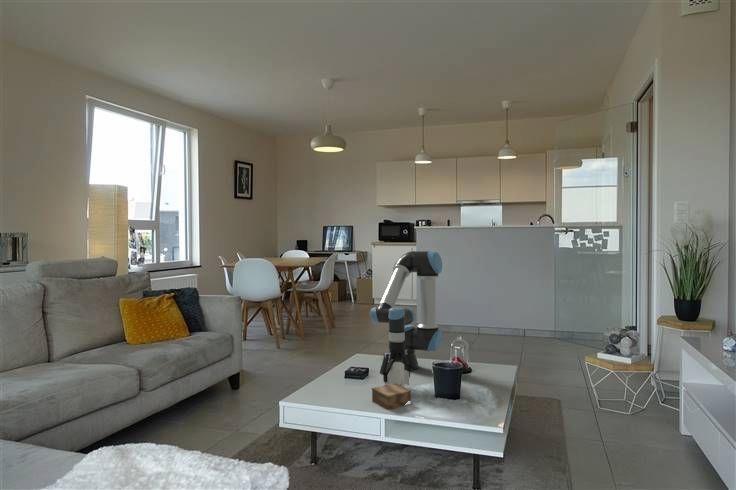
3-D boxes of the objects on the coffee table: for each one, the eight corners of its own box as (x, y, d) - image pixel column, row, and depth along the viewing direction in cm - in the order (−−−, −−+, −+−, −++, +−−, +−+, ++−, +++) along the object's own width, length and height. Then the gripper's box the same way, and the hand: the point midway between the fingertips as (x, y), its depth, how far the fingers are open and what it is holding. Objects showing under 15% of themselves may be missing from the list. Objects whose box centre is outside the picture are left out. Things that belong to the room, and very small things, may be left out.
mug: (409, 393, 224) (409, 367, 224) (392, 394, 222) (392, 368, 222) (401, 385, 235) (401, 361, 235) (384, 387, 233) (384, 362, 233)
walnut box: (394, 396, 219) (394, 383, 219) (411, 404, 209) (411, 390, 209) (371, 401, 212) (371, 388, 212) (388, 410, 202) (388, 395, 202)
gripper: (411, 336, 238) (411, 380, 238) (371, 342, 225) (372, 389, 225) (421, 338, 232) (421, 384, 232) (381, 345, 219) (381, 393, 219)
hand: (397, 386), depth 228 cm, fingers open, 11 cm apart
